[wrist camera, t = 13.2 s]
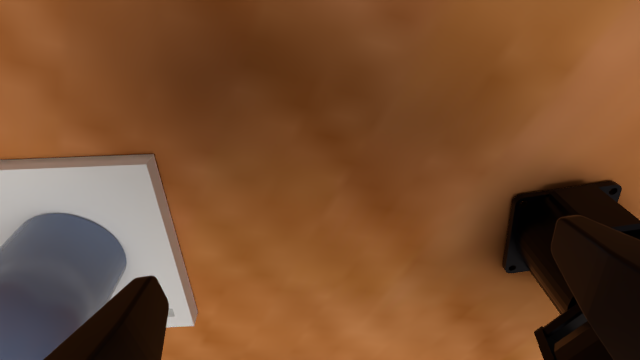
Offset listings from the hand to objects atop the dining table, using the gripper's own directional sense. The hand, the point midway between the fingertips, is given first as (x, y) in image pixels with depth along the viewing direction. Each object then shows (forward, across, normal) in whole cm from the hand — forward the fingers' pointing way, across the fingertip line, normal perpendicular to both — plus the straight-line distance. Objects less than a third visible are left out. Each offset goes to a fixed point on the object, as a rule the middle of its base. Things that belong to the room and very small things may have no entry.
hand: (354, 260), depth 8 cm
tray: (+13, +17, +8) cm, 23 cm away
